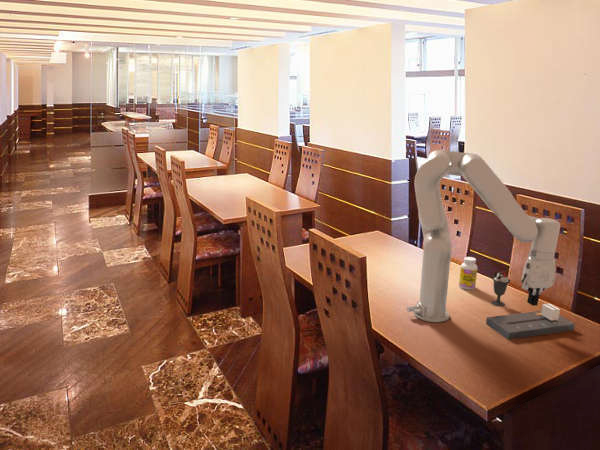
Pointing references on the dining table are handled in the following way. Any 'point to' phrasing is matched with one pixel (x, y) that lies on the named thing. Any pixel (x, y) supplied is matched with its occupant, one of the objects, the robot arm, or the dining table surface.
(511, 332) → the dimmer panel
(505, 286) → the sundae
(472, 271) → the supplement bottle
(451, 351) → the dining table surface
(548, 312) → the fader
